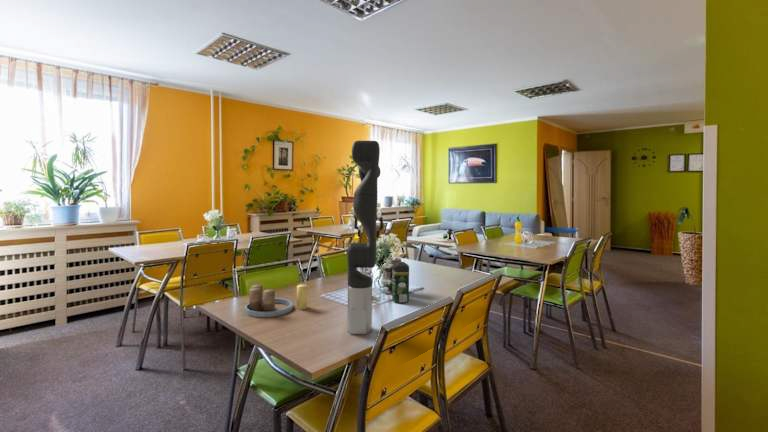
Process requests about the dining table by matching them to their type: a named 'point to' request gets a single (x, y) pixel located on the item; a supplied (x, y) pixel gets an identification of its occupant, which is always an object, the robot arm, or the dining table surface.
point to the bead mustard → (302, 297)
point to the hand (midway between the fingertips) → (368, 237)
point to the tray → (270, 313)
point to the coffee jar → (400, 282)
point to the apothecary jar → (388, 274)
